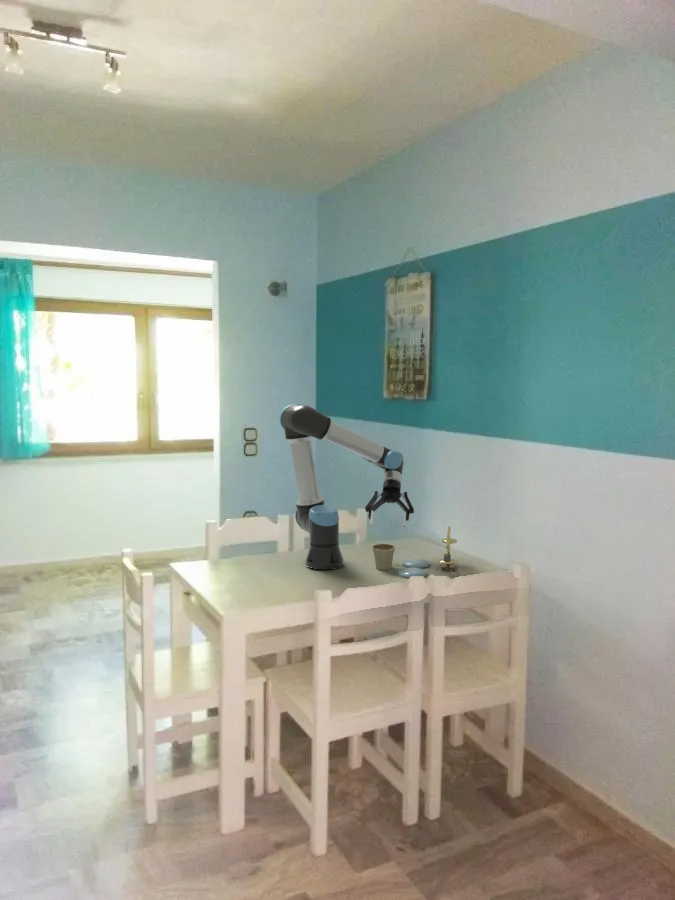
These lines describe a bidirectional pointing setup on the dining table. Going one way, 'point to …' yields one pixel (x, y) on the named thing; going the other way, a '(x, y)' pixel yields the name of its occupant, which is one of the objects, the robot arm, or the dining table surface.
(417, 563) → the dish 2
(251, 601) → the dining table surface
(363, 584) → the dining table surface
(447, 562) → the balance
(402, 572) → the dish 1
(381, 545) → the flower pot
